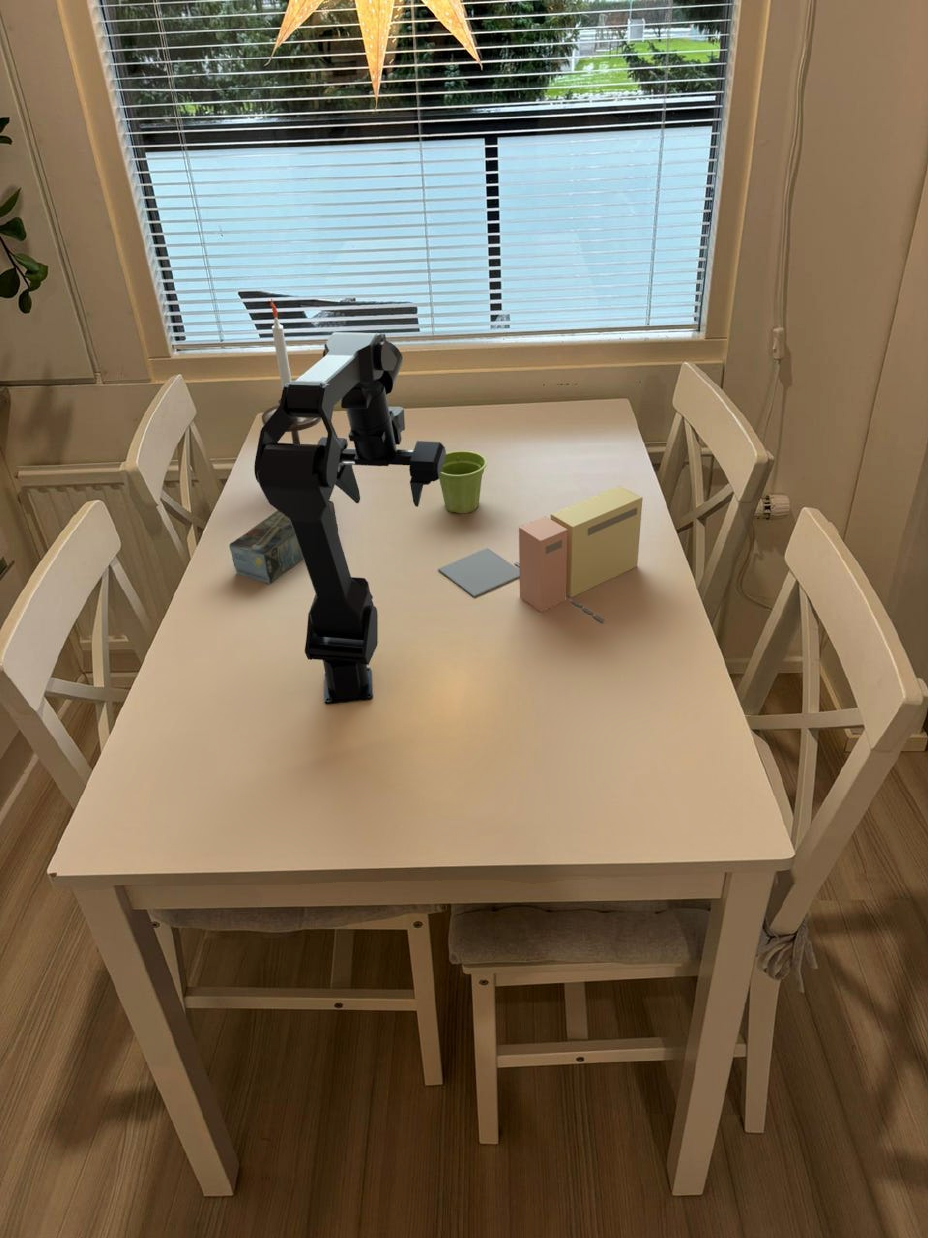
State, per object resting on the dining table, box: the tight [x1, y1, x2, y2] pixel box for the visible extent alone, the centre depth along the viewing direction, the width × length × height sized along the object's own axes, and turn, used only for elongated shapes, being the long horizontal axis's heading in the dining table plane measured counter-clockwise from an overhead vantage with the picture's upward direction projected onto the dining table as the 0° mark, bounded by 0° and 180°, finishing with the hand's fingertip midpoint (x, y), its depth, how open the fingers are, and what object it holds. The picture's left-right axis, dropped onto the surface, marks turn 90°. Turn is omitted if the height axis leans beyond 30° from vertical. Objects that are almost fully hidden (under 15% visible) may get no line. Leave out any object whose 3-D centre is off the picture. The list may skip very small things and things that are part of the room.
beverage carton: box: [228, 500, 339, 585], centre depth 156 cm, size 8×19×7 cm, turn 150°
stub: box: [518, 516, 567, 613], centre depth 139 cm, size 5×5×12 cm
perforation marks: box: [514, 561, 605, 624], centre depth 144 cm, size 1×21×1 cm, turn 35°
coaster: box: [437, 547, 520, 598], centre depth 149 cm, size 10×10×1 cm
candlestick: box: [261, 298, 322, 444], centre depth 167 cm, size 11×11×35 cm
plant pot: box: [438, 450, 488, 514], centre depth 165 cm, size 9×9×9 cm
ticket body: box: [550, 485, 643, 598], centre depth 144 cm, size 14×5×12 cm, turn 125°
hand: (387, 502), depth 138 cm, fingers open, 9 cm apart
